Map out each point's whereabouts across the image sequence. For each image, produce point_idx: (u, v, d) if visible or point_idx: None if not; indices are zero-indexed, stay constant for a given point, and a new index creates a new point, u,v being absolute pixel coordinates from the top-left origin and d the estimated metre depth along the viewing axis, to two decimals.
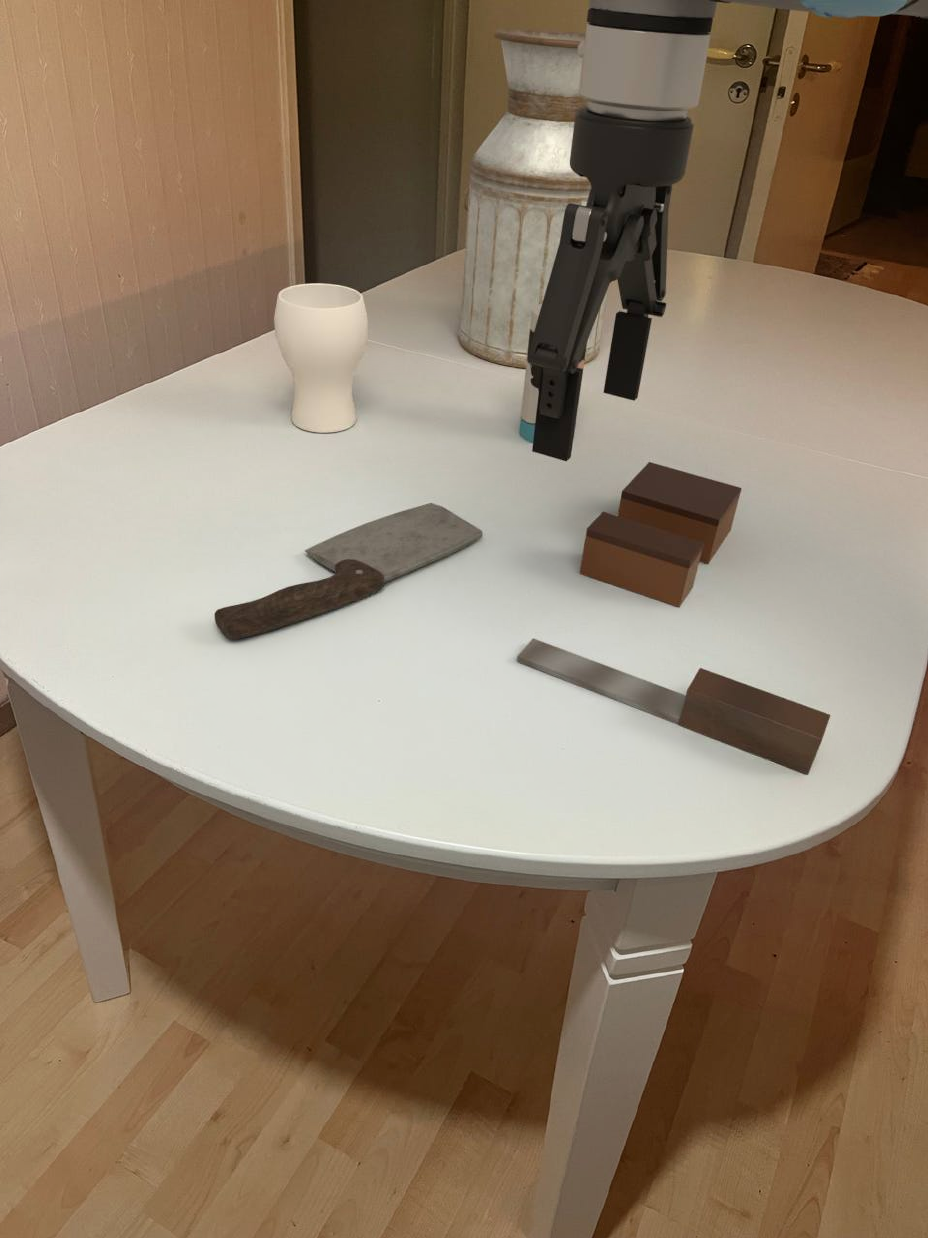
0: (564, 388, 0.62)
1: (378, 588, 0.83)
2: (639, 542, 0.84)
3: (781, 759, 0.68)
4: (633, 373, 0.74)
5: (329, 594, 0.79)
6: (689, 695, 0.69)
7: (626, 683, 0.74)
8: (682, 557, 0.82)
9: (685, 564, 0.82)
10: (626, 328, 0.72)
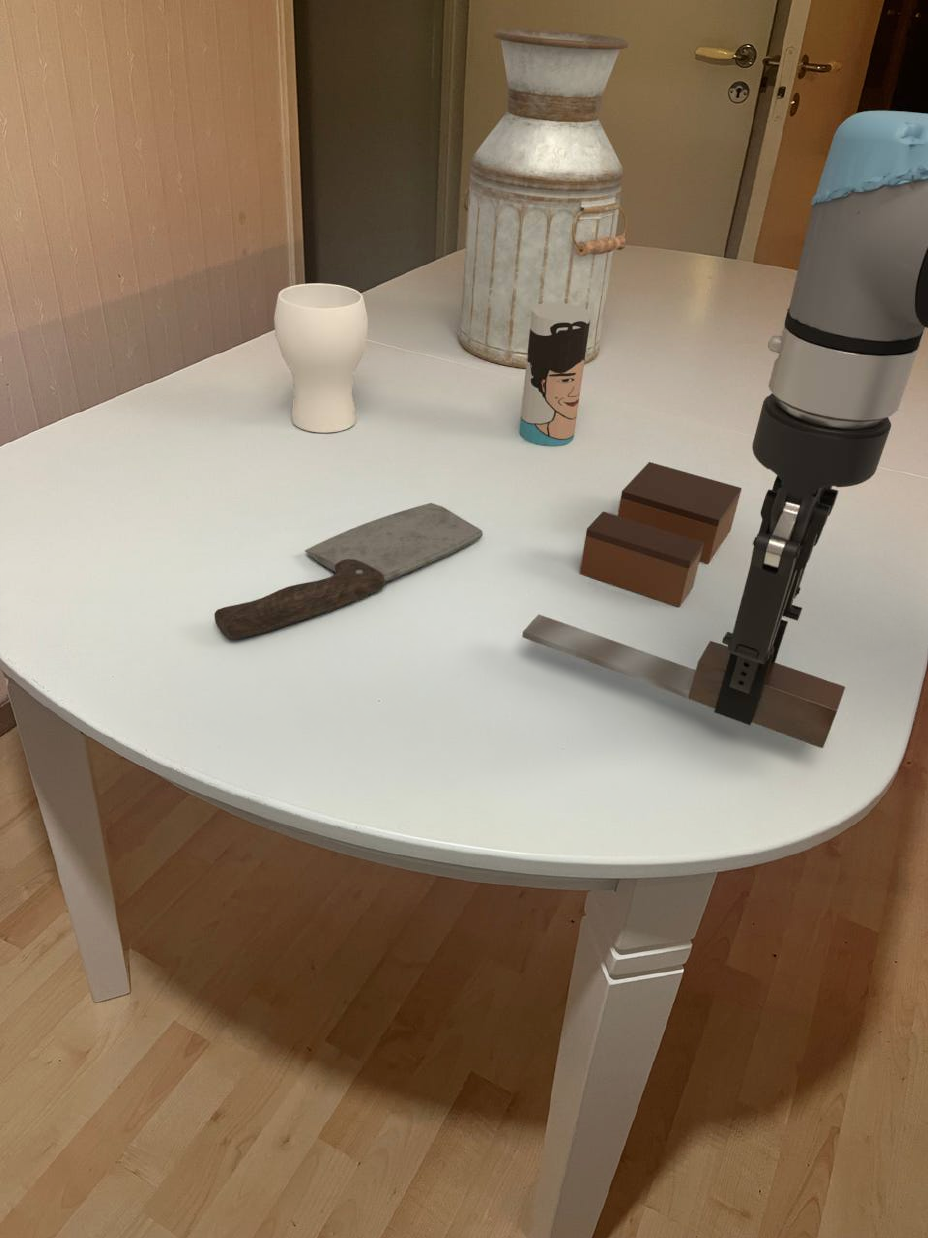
0: (757, 668, 0.64)
1: (378, 588, 0.83)
2: (639, 542, 0.84)
3: (795, 732, 0.66)
4: None
5: (329, 594, 0.79)
6: (700, 667, 0.68)
7: (634, 658, 0.72)
8: (682, 557, 0.82)
9: (685, 564, 0.82)
10: None
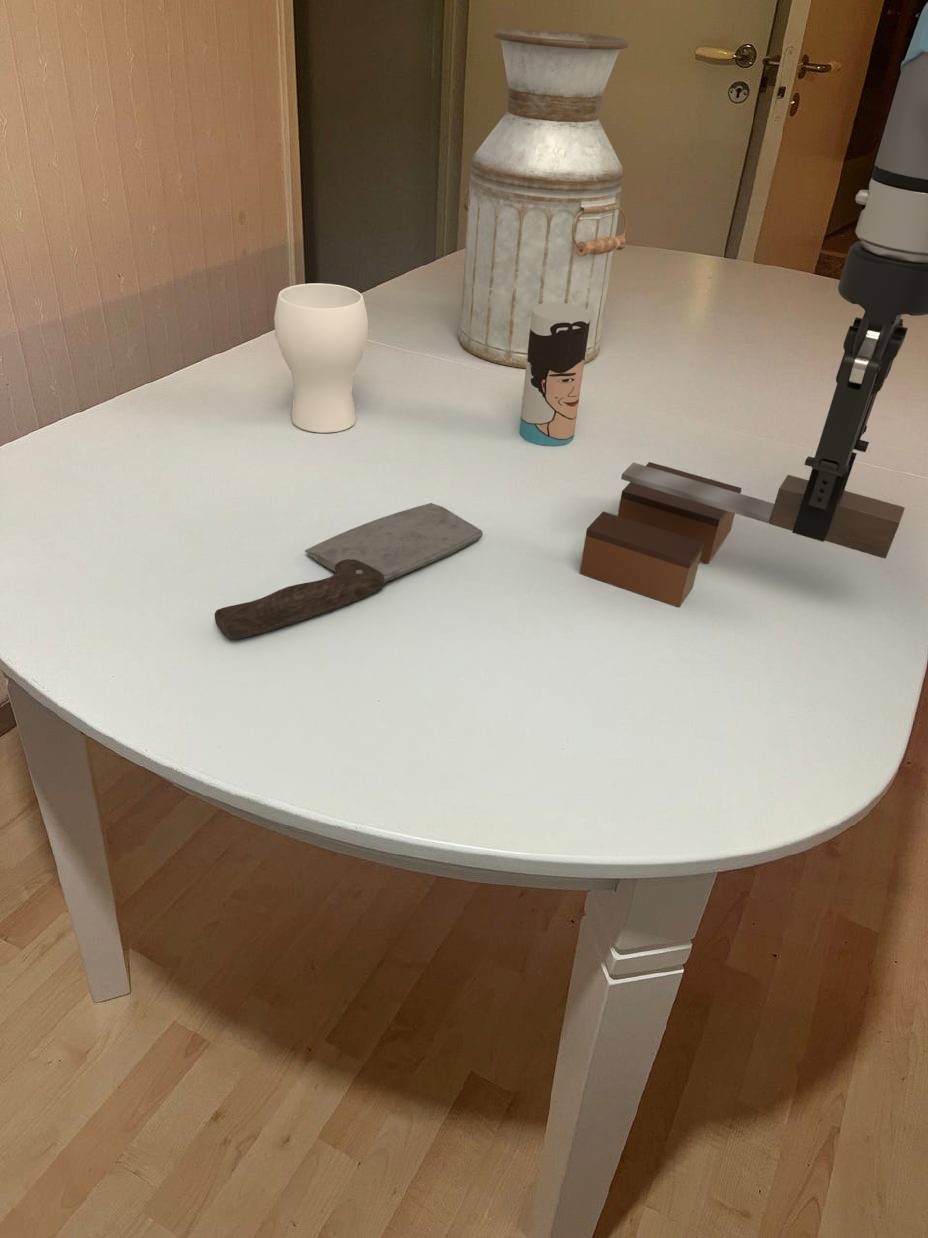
0: (833, 486, 0.76)
1: (378, 588, 0.83)
2: (639, 542, 0.84)
3: (861, 546, 0.78)
4: None
5: (329, 594, 0.79)
6: (780, 493, 0.80)
7: (720, 493, 0.84)
8: (682, 557, 0.82)
9: (685, 564, 0.82)
10: None
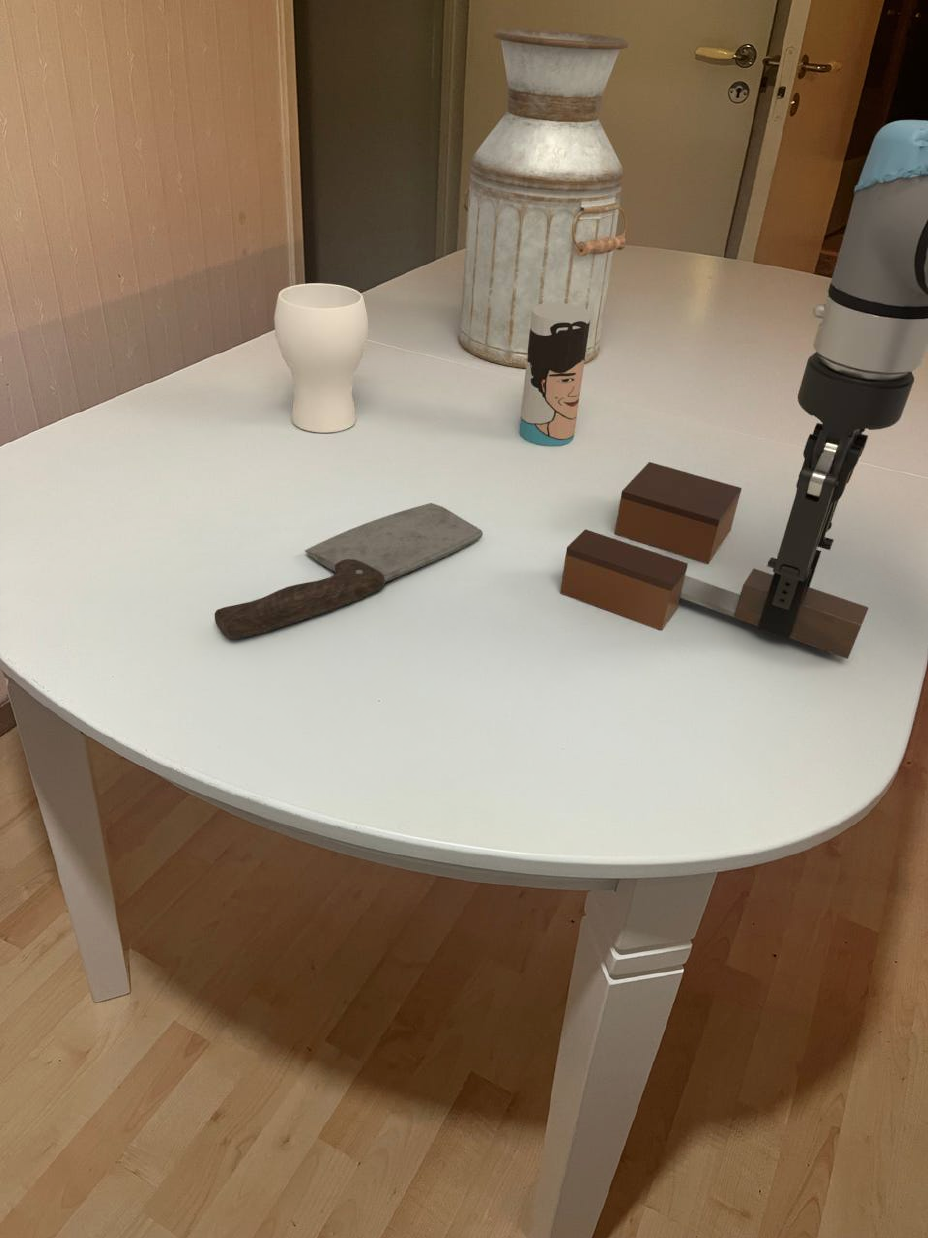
0: (796, 588, 0.76)
1: (378, 588, 0.83)
2: (620, 562, 0.81)
3: (824, 645, 0.78)
4: None
5: (329, 594, 0.79)
6: (745, 589, 0.80)
7: (687, 583, 0.84)
8: (664, 579, 0.79)
9: (667, 586, 0.79)
10: None
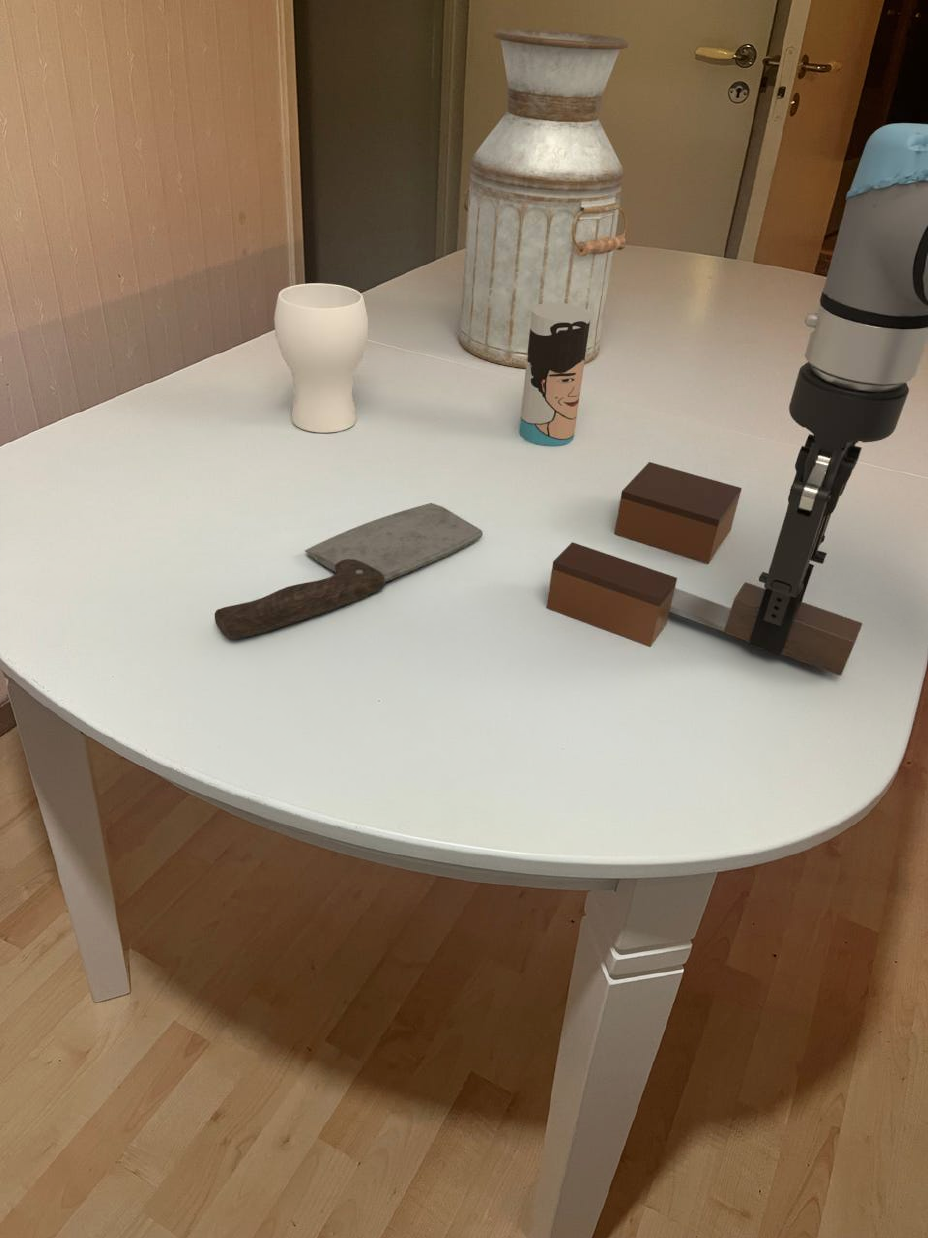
0: (788, 603, 0.74)
1: (378, 588, 0.83)
2: (608, 577, 0.79)
3: (817, 662, 0.76)
4: None
5: (329, 594, 0.79)
6: (736, 604, 0.78)
7: (677, 596, 0.82)
8: (652, 594, 0.77)
9: (656, 602, 0.77)
10: None
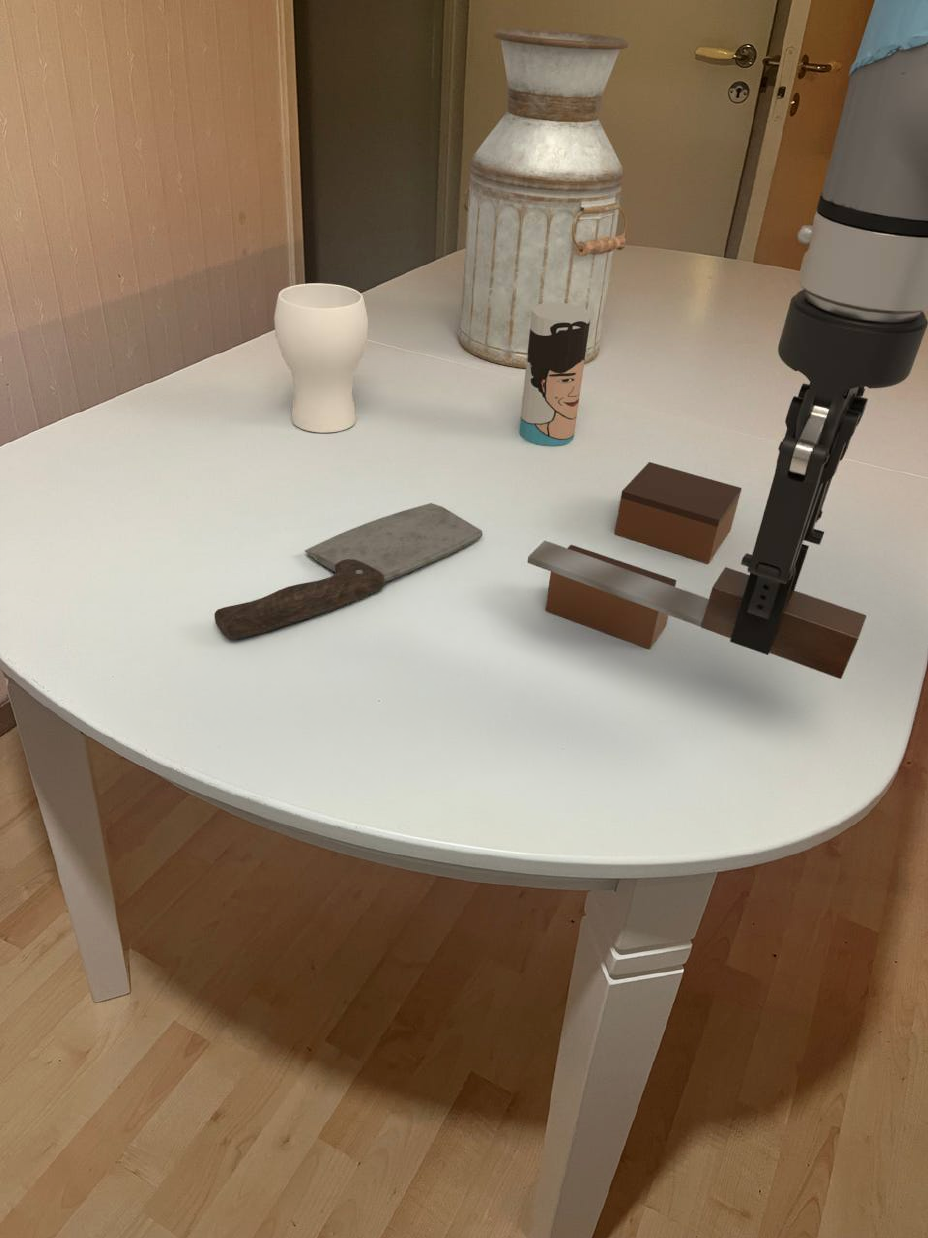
0: (777, 591, 0.60)
1: (378, 588, 0.83)
2: None
3: (812, 662, 0.63)
4: None
5: (329, 594, 0.79)
6: (714, 593, 0.64)
7: (645, 585, 0.69)
8: None
9: None
10: None
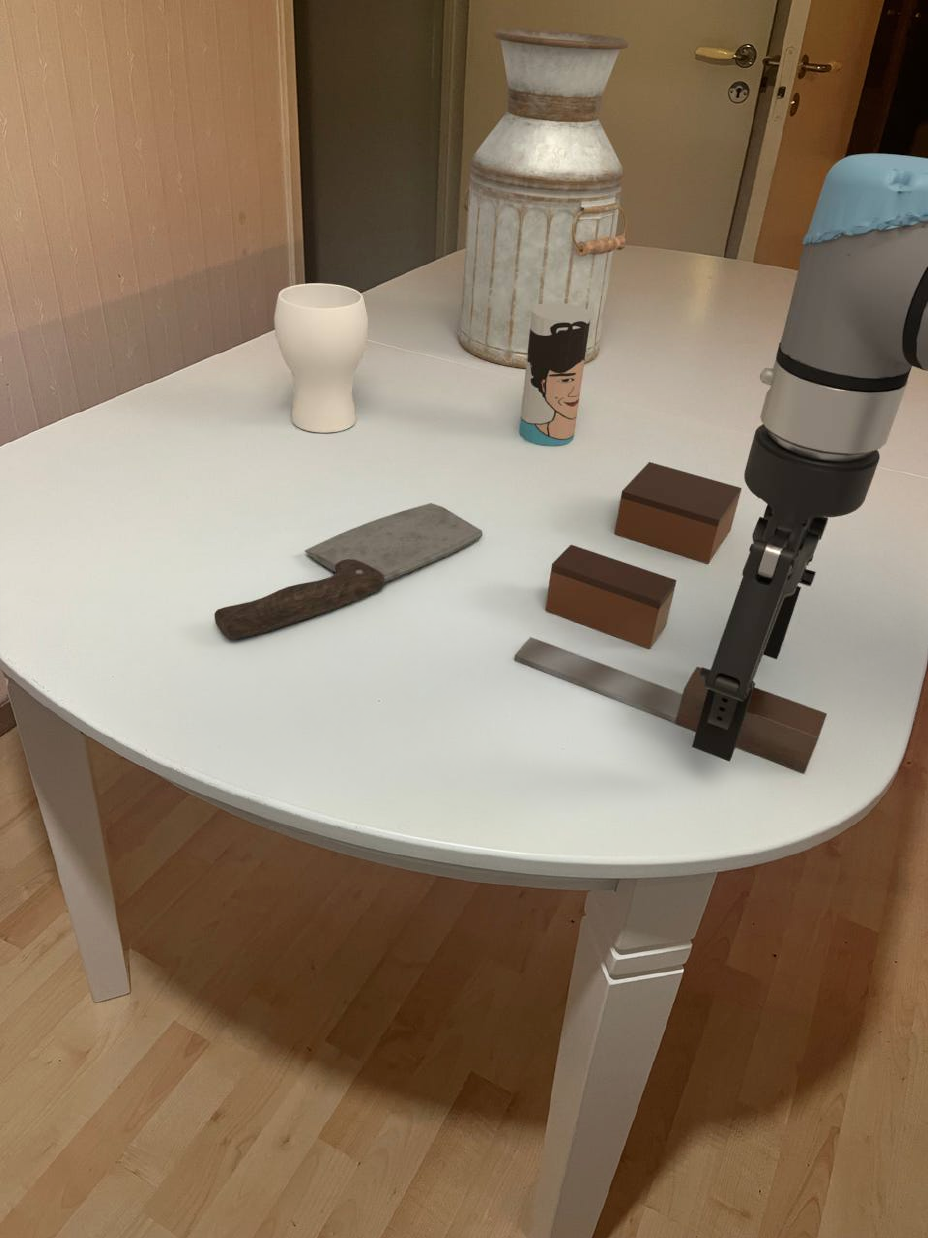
0: (736, 704, 0.60)
1: (378, 588, 0.83)
2: (607, 579, 0.78)
3: (778, 758, 0.68)
4: (778, 635, 0.72)
5: (329, 594, 0.79)
6: (686, 694, 0.70)
7: (623, 682, 0.74)
8: (652, 596, 0.77)
9: (655, 604, 0.77)
10: None
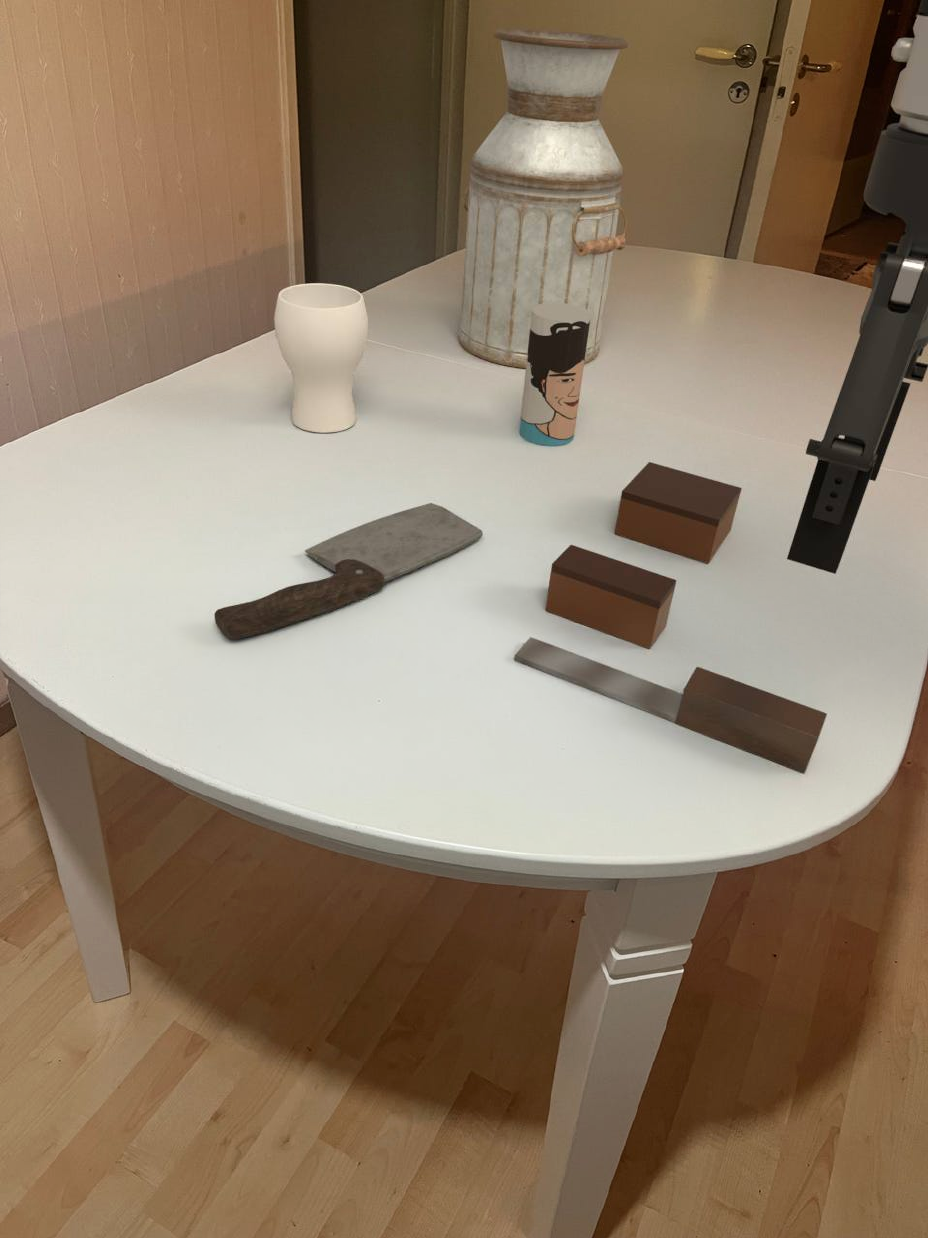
0: (851, 487, 0.48)
1: (378, 588, 0.83)
2: (607, 579, 0.78)
3: (778, 758, 0.68)
4: (878, 449, 0.60)
5: (329, 594, 0.79)
6: (686, 694, 0.70)
7: (623, 682, 0.74)
8: (652, 596, 0.77)
9: (655, 604, 0.77)
10: None
